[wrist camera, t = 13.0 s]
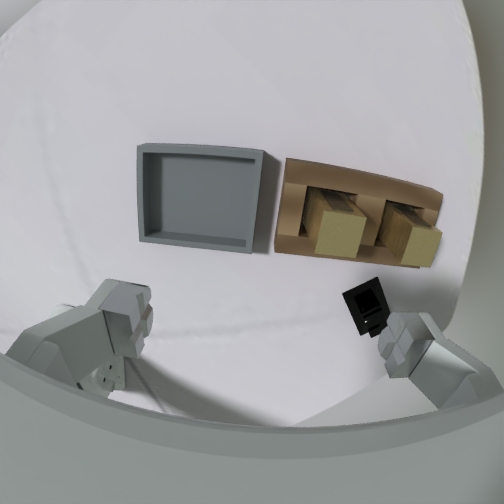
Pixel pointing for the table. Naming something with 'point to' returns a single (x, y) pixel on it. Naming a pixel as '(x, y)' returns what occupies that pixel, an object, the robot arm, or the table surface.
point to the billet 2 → (408, 235)
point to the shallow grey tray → (198, 195)
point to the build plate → (368, 307)
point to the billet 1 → (333, 223)
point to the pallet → (361, 195)
